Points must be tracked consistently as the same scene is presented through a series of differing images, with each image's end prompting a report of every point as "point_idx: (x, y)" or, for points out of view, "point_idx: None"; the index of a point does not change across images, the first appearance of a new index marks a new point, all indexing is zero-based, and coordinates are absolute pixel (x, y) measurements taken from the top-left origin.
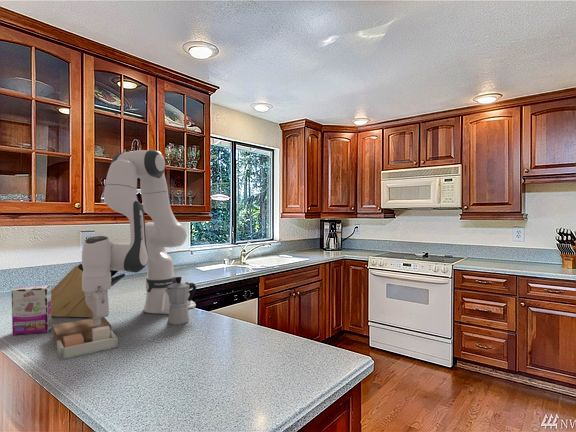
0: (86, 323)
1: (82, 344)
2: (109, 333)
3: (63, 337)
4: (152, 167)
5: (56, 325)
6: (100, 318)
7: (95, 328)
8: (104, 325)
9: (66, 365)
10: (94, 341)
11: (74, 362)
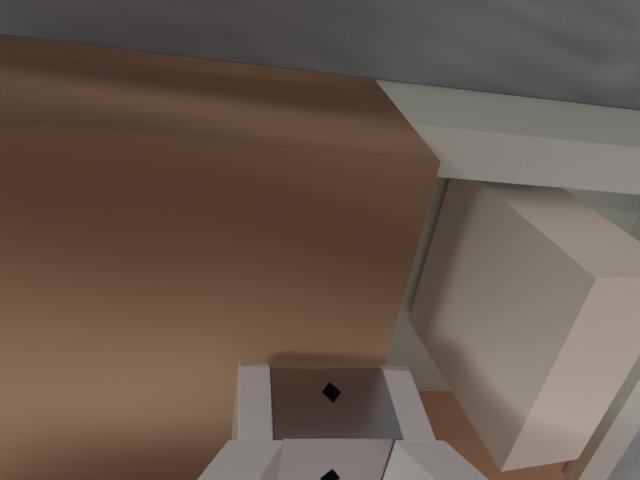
0: (21, 442)
1: (601, 469)
2: (608, 224)
3: None
4: None
5: None
6: (474, 476)
7: (533, 439)
8: (365, 263)
9: (628, 475)
10: (637, 389)
11: (632, 441)
